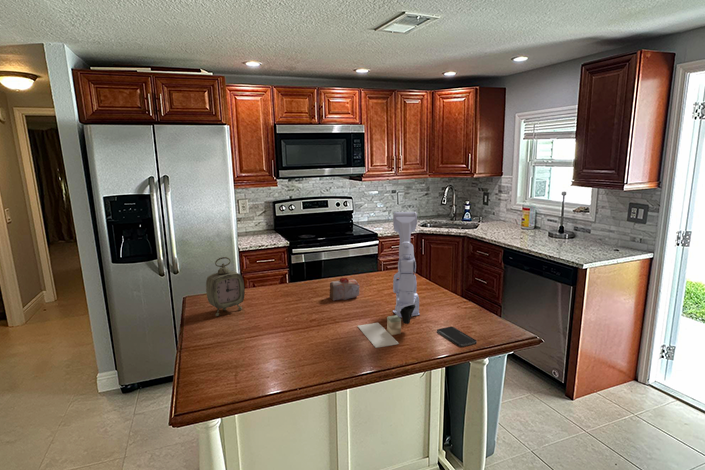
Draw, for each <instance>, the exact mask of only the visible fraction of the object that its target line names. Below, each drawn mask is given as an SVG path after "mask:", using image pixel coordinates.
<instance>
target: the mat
mask: <svg viewBox="0 0 705 470" xmlns="http://www.w3.org/2000/svg"><path fill="white" fill-rule="evenodd" d="M357 328H358V329H359V330H360V332H362V334H363V335H364V336H365V337H366V338H367V339H368V341H369V342H370V343H371V344H372V345H373V347H374V348H375V349H379V348H384V347H390V346H395V345H396V346H397V345H399V344H400V343H399V341H397V340H396V339H395V337H393V335H391V334H390V333H389V332H388V331H387V329H385V327H383V325H381V324H380V323H379V322H373V323H367V324H361V325H360V324H359V325H357Z"/></svg>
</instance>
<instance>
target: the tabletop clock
mask: <svg viewBox="0 0 705 470" xmlns="http://www.w3.org/2000/svg"><path fill="white" fill-rule="evenodd" d="M224 259H226V260H229V262H228V263H226V264H225V263H221V265H219V264H218V263H217V262H218V261H220V260H224ZM231 262H232V261H231V258H230V257H228V256H221V257H218V258H217V259H216V261H215V263H214V264H215V266H216V267H217V268H219V269H218V270H217V272H215V273H212V274H210V275H208V276H207V278H206V282H205V291H206V298H207V301H208V303H209V304H210V305H211V306H213V307H214V308H216V310H217V311H216V312H215V315H214V316H215V317H219V316H220V313H219V312H220V310H221V309H222V311H223V312H224V311H227V308H232V307H235V306H236V307H238V310H239V311H241V310H242V309H243V306H240V304H241V303H243V302H244V300H245V289H246V288H245V281H244V277H243V275H242V274H240V273H238V272H236V271H233V270H230V269H229V268H228V267H227V266H229V265H230V264H231Z"/></svg>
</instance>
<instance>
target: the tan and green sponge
mask: <svg viewBox="0 0 705 470" xmlns="http://www.w3.org/2000/svg"><path fill="white" fill-rule="evenodd" d="M386 324H387V325H386V331H387V332H388V333H389V334H390V335H391V336H396V335H401V334H402V318H400V317H399V316H397V315H396V314H394V315H391V316H390V315H389V316H387V317H386Z"/></svg>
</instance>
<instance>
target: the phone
mask: <svg viewBox="0 0 705 470" xmlns="http://www.w3.org/2000/svg"><path fill="white" fill-rule="evenodd" d="M436 332H437V334H439V335H440V336H442V337H444V338H445V339H447V340H448V341H449V342H451V343H452V344H454V345H456V346H457V347H459V348H465V347H469V346H472V345H476V344H477V341H478V340H477V339H474V338H473V337H471V336H470V335H468V334H466V333H465V332H464V331H463V332H462V331H461V330H459V328H458V329H457V328H456V327H454V326H448V327H447V326H446V327H443V328H437V329H436Z"/></svg>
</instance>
